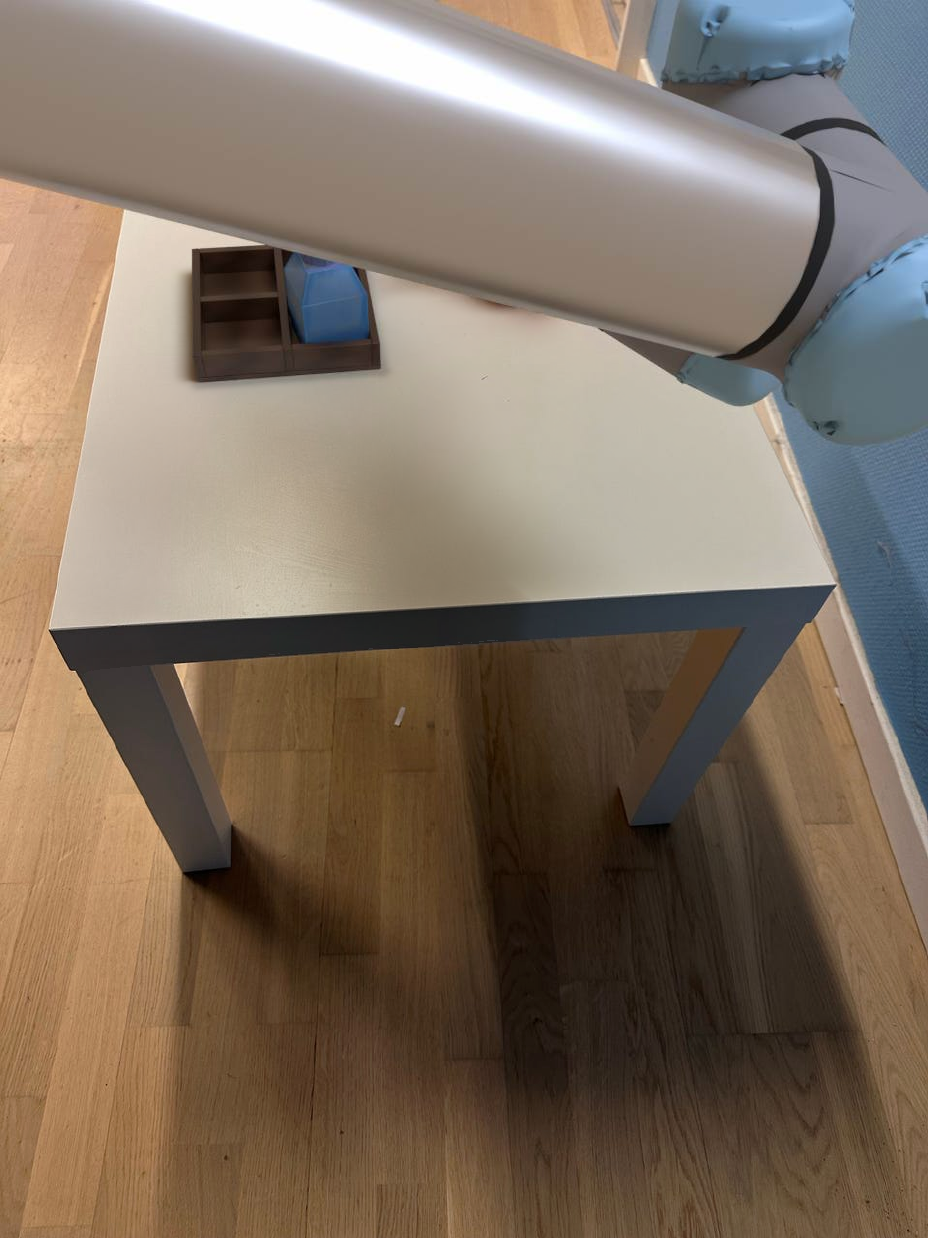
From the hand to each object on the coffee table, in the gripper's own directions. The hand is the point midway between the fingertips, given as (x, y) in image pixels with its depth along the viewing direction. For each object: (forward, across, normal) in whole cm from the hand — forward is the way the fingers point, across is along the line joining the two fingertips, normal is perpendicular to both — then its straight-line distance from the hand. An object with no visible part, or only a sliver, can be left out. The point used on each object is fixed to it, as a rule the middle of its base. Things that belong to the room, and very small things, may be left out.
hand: (352, 115), depth 63 cm
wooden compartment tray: (+16, 0, -25) cm, 30 cm away
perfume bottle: (+10, +1, -25) cm, 27 cm away
